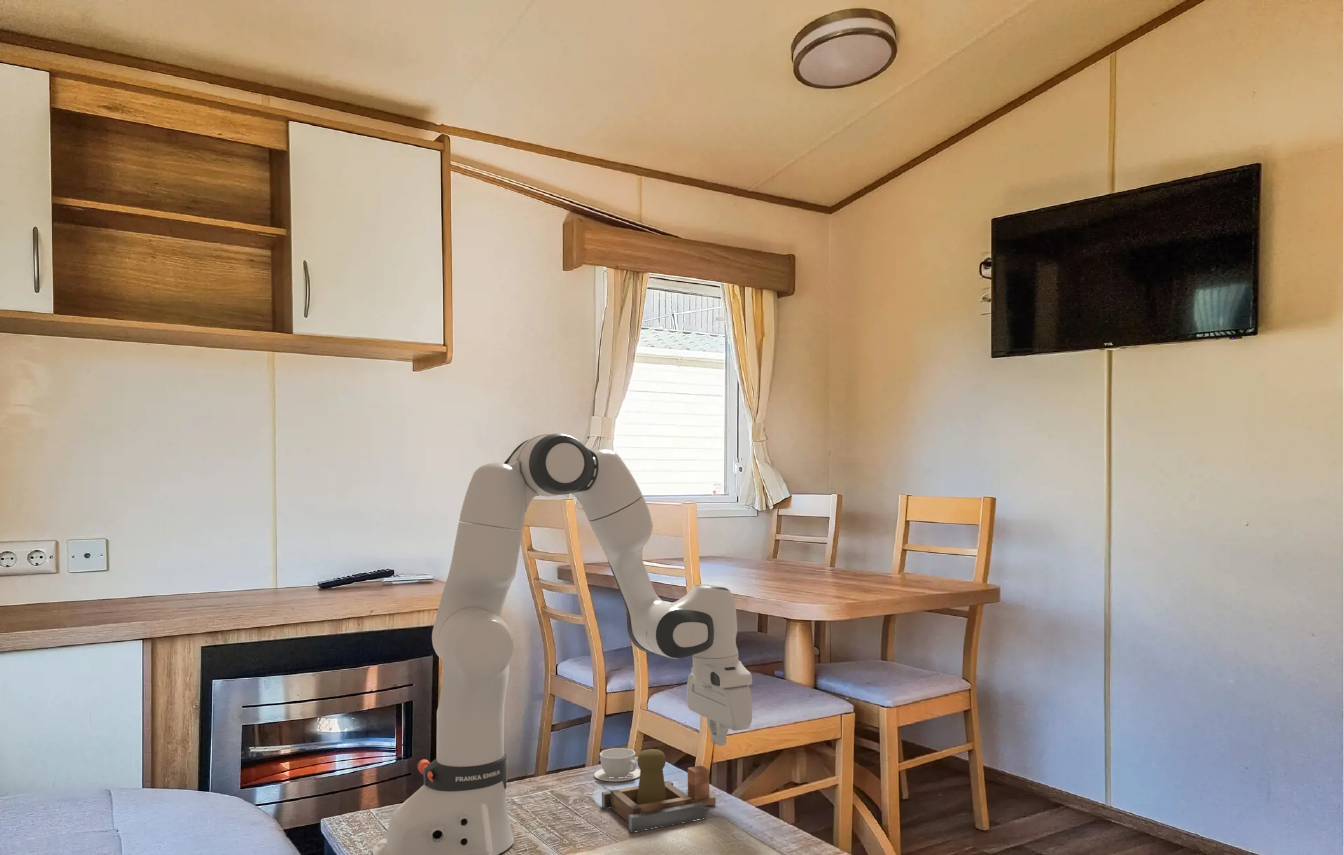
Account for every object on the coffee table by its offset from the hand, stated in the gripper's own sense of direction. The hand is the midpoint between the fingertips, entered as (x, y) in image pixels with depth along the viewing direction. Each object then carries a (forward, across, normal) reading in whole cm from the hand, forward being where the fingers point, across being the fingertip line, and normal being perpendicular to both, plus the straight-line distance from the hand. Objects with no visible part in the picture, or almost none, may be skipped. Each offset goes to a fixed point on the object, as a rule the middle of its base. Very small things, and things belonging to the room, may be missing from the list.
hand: (718, 743), depth 164 cm
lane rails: (+10, 0, -14) cm, 17 cm away
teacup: (+11, -24, -12) cm, 28 cm away
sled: (+10, 0, -11) cm, 15 cm away
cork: (+10, 0, -14) cm, 18 cm away
